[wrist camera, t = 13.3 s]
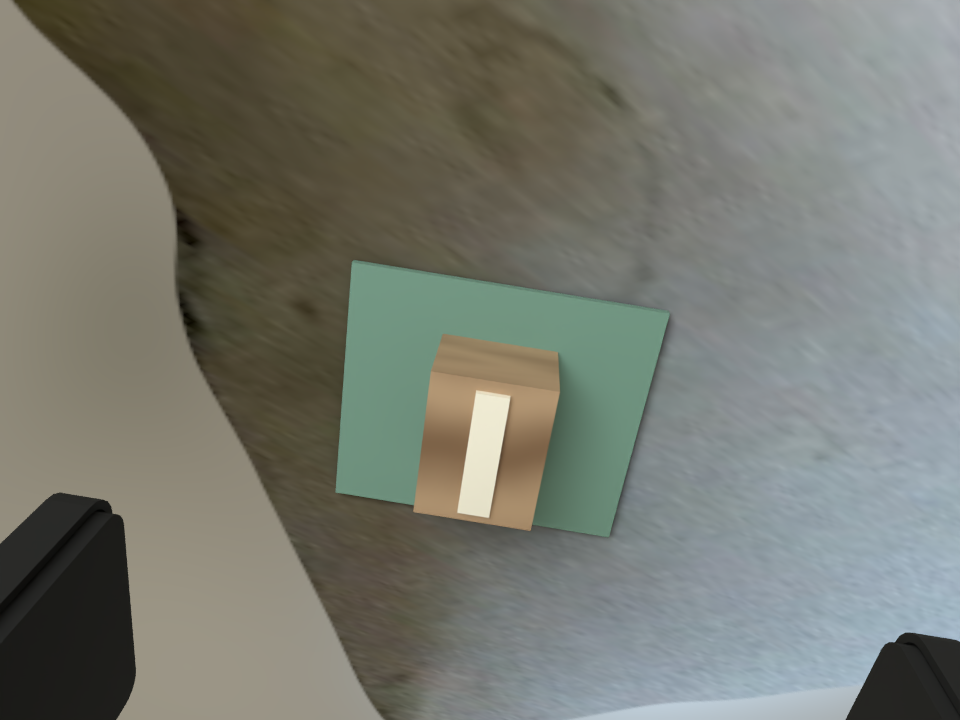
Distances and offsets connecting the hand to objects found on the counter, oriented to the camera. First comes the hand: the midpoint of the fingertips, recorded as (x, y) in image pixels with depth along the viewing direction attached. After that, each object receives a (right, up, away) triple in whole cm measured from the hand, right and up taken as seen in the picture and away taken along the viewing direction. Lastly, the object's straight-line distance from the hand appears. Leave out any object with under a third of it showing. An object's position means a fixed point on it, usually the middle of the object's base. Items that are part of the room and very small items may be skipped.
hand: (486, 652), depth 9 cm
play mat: (0, +1, +31) cm, 31 cm away
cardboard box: (0, +1, +30) cm, 30 cm away
